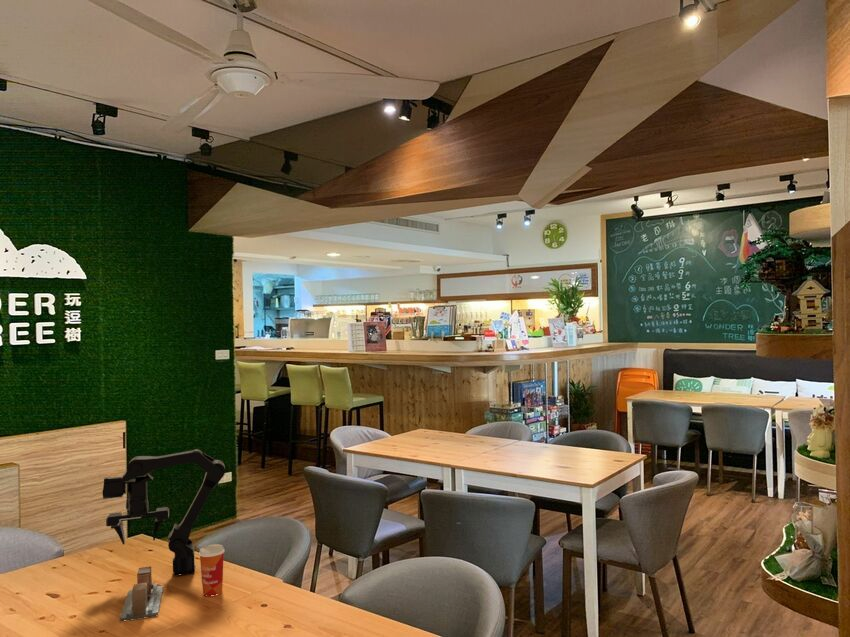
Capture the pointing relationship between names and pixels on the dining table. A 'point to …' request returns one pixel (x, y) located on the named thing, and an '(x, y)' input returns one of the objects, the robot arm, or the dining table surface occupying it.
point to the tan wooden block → (145, 578)
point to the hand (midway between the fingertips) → (139, 542)
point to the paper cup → (212, 568)
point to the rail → (151, 604)
